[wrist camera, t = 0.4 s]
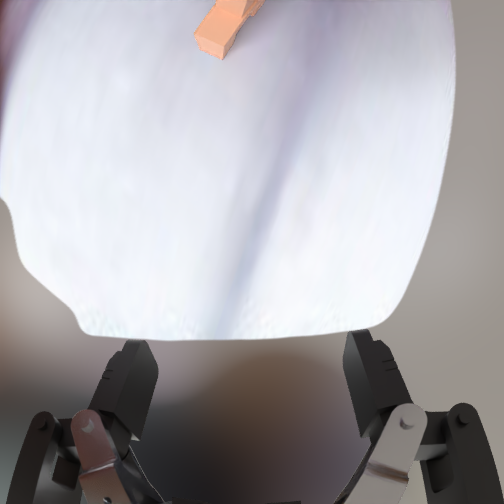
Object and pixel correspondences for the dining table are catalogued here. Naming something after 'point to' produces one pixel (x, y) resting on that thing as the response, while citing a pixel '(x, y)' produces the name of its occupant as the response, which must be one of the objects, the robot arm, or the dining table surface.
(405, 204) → the dining table surface
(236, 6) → the clip
